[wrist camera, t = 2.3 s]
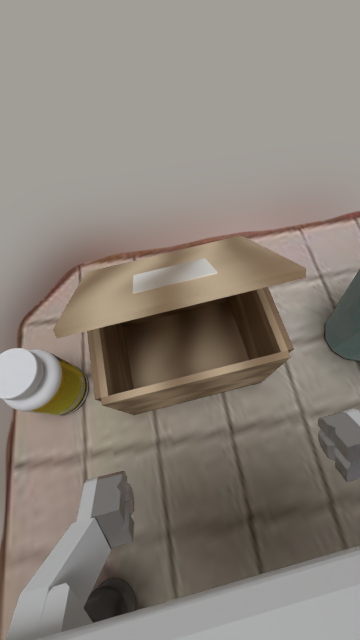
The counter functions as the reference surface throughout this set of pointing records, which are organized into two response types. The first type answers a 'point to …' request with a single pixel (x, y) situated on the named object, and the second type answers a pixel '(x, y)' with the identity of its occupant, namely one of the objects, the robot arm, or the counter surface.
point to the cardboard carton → (188, 352)
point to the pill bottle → (41, 382)
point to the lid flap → (173, 283)
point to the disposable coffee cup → (346, 323)
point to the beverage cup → (110, 600)
